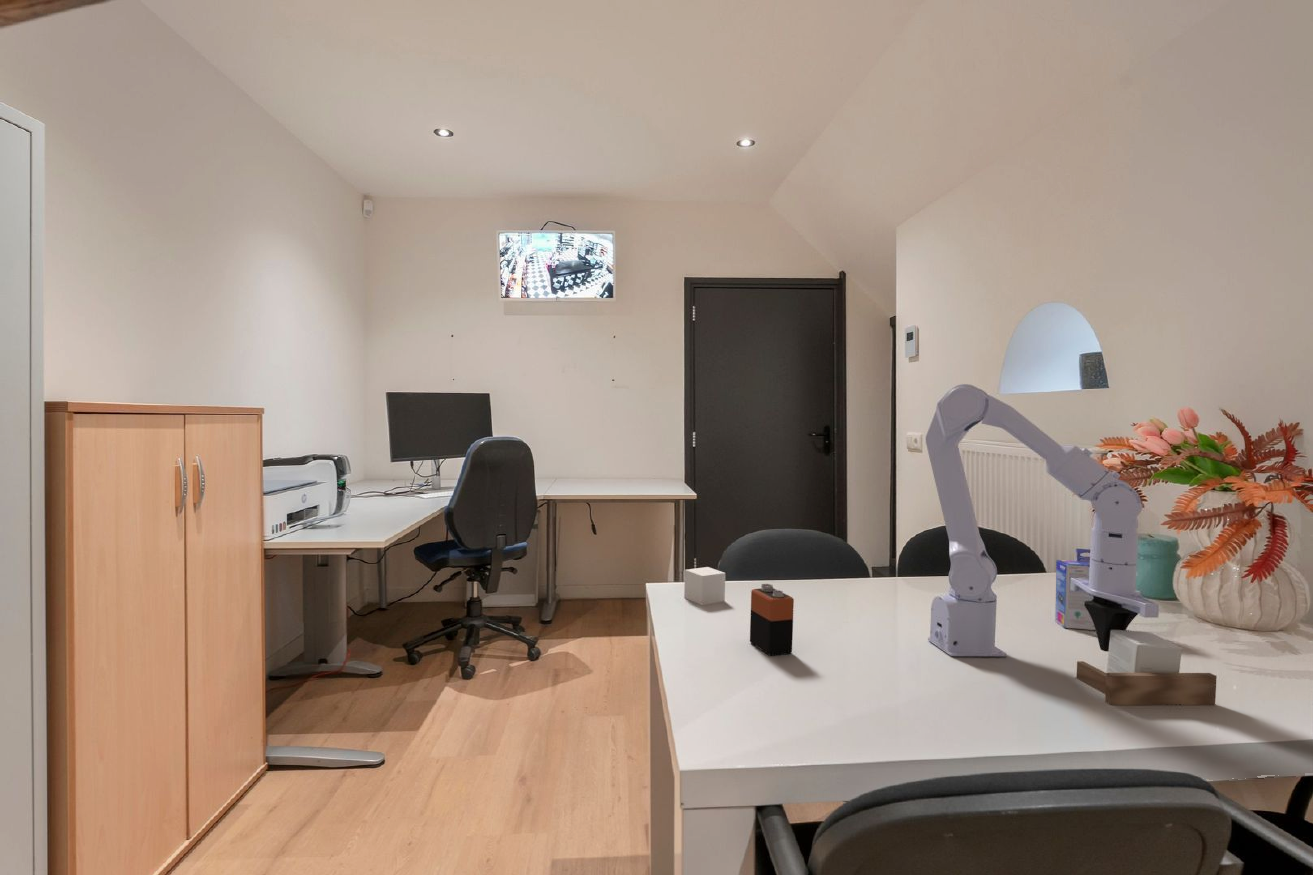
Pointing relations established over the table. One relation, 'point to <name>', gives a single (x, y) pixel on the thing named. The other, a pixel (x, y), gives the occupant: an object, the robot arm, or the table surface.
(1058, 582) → the ink cartridge box
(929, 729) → the table surface
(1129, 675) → the walnut holder
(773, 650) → the battery
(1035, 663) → the table surface
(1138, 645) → the product box
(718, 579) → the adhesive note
